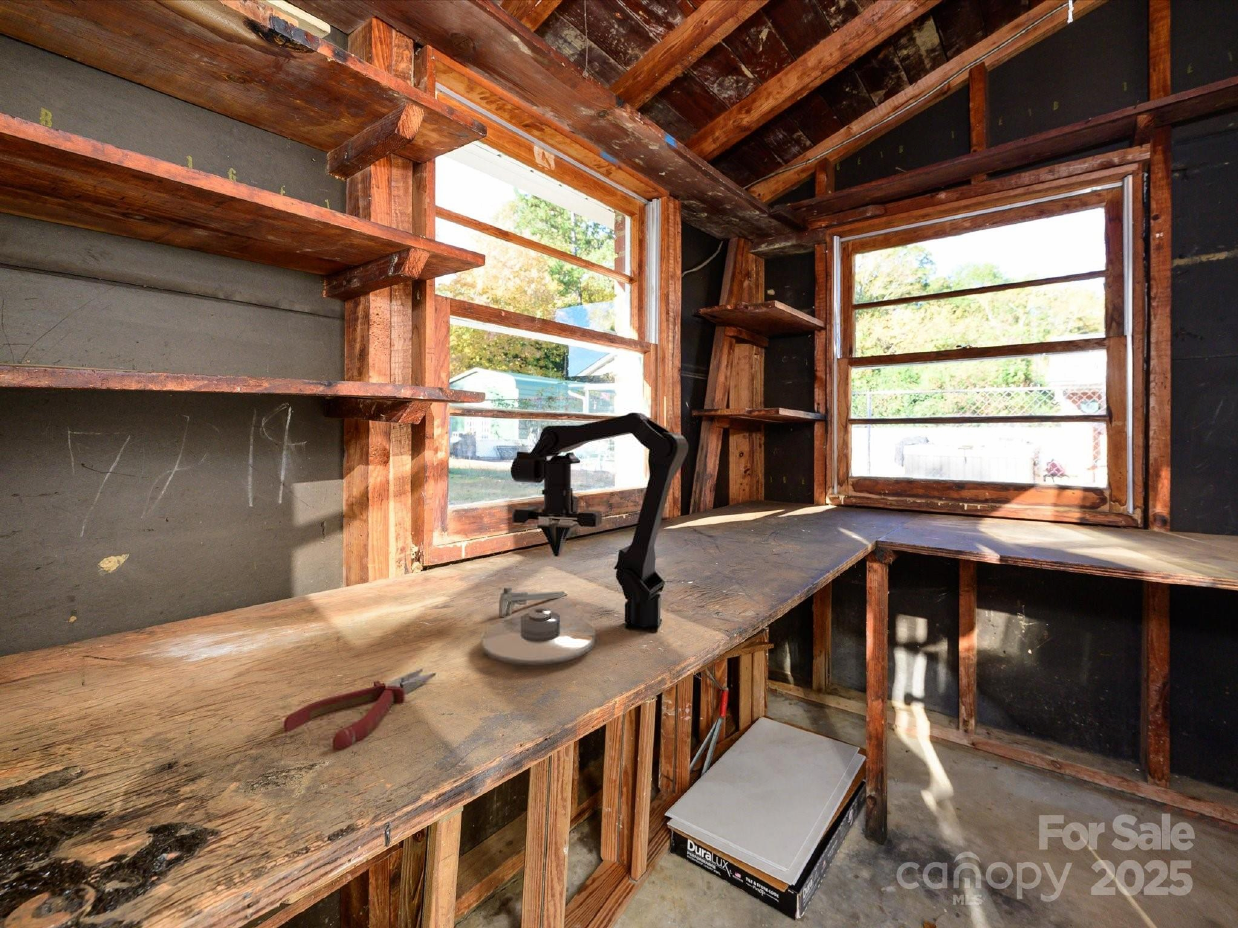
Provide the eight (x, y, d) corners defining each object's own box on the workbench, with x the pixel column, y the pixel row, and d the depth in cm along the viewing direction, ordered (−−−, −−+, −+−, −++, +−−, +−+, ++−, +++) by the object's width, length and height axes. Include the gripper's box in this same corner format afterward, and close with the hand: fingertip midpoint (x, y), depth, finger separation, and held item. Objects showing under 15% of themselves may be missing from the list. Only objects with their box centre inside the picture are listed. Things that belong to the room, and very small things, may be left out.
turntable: (607, 626, 104) (607, 619, 104) (575, 670, 85) (575, 662, 85) (511, 617, 109) (511, 610, 109) (460, 657, 90) (460, 648, 90)
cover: (565, 628, 99) (565, 606, 99) (551, 643, 93) (551, 618, 92) (530, 625, 101) (530, 602, 101) (514, 638, 94) (514, 614, 94)
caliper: (502, 619, 112) (502, 589, 112) (498, 618, 113) (498, 589, 113) (567, 596, 129) (568, 570, 128) (564, 595, 130) (564, 569, 129)
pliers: (457, 686, 83) (456, 670, 83) (340, 757, 65) (339, 736, 65) (402, 672, 88) (402, 656, 88) (279, 734, 70) (279, 714, 70)
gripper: (609, 482, 121) (608, 550, 122) (531, 479, 126) (531, 545, 127) (595, 487, 111) (594, 562, 112) (511, 484, 115) (511, 556, 116)
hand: (557, 556), depth 117 cm, fingers closed
